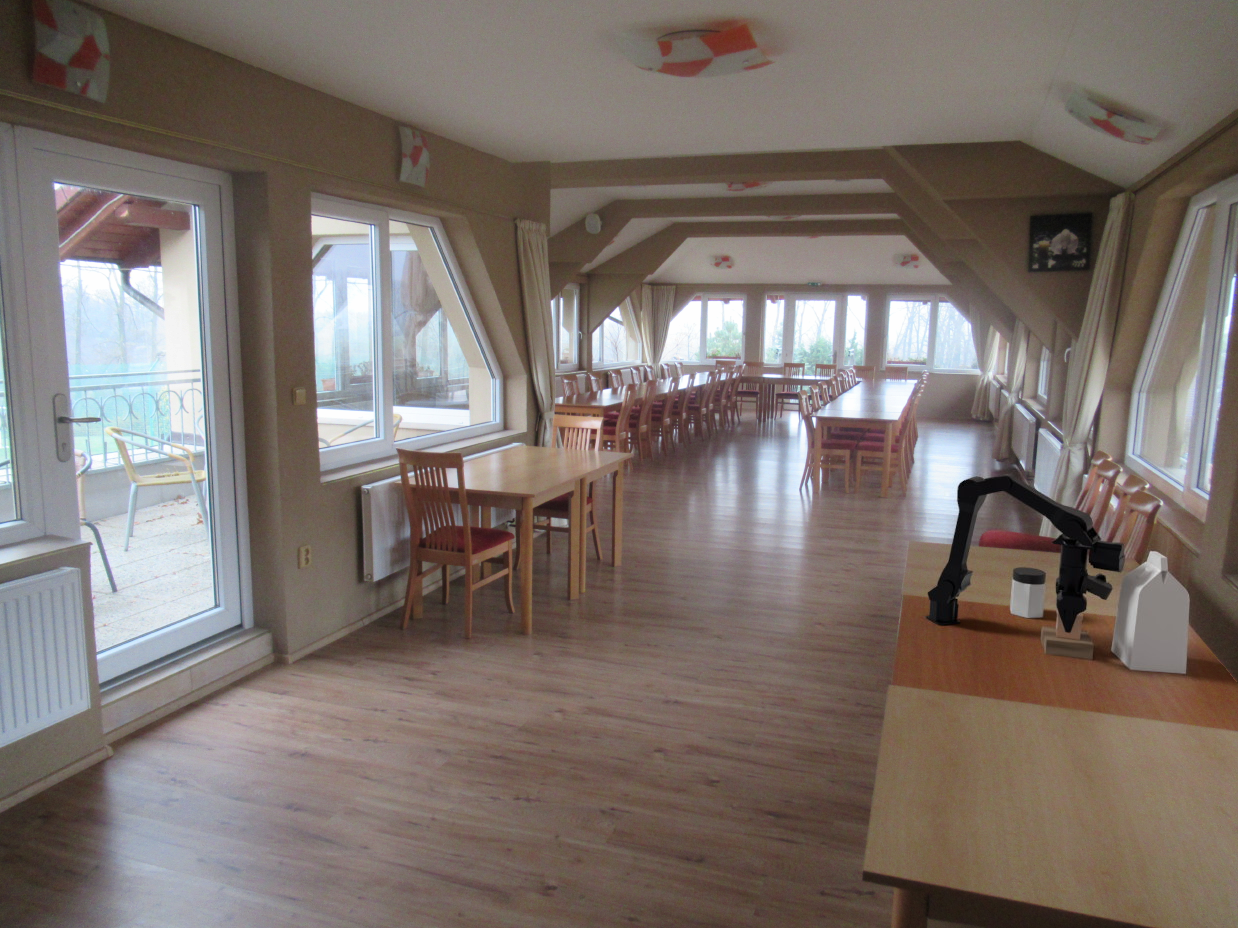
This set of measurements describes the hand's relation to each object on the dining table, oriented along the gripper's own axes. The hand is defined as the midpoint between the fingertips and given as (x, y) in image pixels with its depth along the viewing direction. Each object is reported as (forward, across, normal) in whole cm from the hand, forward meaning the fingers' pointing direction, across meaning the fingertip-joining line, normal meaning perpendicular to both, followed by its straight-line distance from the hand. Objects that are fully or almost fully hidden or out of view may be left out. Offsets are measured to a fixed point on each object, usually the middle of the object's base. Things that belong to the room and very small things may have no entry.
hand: (1067, 626), depth 206 cm
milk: (+6, 0, -17) cm, 18 cm away
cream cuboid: (+2, 0, 0) cm, 2 cm away
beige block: (+6, 0, 0) cm, 6 cm away
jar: (+6, +25, +9) cm, 27 cm away
